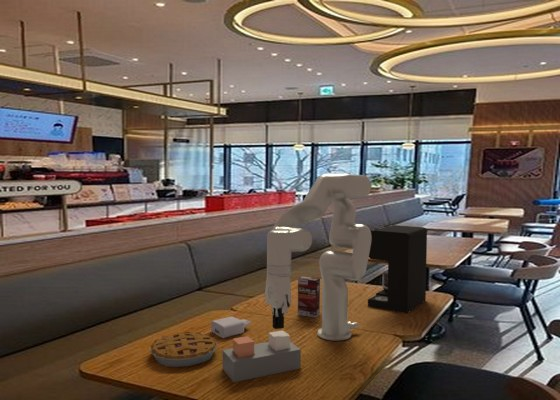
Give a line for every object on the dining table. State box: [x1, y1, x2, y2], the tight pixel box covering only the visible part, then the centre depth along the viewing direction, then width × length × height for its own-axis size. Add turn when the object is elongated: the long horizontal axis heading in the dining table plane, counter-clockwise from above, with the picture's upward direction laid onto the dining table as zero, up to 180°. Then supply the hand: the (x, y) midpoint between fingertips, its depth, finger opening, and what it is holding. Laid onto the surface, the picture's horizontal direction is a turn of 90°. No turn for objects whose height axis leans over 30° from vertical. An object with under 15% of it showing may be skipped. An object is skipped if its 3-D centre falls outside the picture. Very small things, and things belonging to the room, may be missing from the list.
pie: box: [150, 331, 218, 368], centre depth 153 cm, size 22×22×5 cm
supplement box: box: [297, 276, 321, 318], centre depth 194 cm, size 9×5×16 cm, turn 68°
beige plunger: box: [268, 330, 291, 351], centre depth 144 cm, size 5×5×6 cm
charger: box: [210, 316, 252, 339], centre depth 175 cm, size 5×9×15 cm
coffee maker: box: [367, 224, 428, 314], centre depth 213 cm, size 28×20×35 cm
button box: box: [222, 341, 302, 383], centre depth 142 cm, size 22×10×6 cm, turn 116°
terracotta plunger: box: [232, 335, 255, 358], centre depth 139 cm, size 5×5×6 cm
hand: (278, 327), depth 143 cm, fingers closed
